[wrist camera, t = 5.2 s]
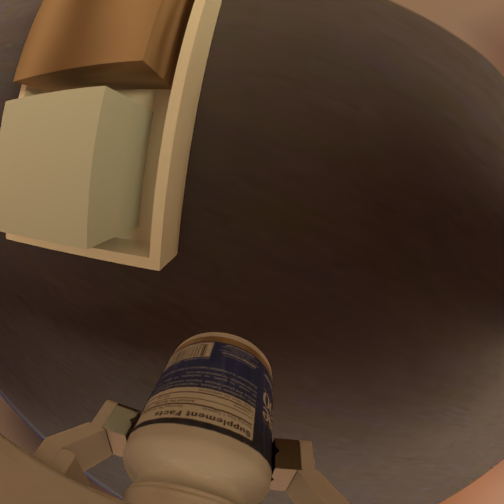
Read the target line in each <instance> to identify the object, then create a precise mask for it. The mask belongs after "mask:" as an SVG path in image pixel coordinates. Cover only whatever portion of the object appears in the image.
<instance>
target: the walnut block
mask: <svg viewBox="0 0 504 504" xmlns="http://www.w3.org/2000/svg"><path fill="white" fill-rule="evenodd" d="M194 1H195V0H43V2H42V4H41V6H40V8H39V11H38V13H37V15H36V17H35V20H34V22H33V24H32V27H31V29H30V32H29V35H28V37H27V40H26V43H25V45H24V48H23V51H22V54H21V57H20V60H19V63H18V67H17V70H16V73H15V77H14V81H13V82H16V83H20V84H23V85H27V86H30V87H34V88H37V89H40V90H43V91H47V92H55V91H62V90H69V89H77V88H86V87H96V86H107V87H109V88H111V89H113V90H132V89H172V84H173V80H174V75H175V71H176V66H177V62H178V58H179V54H180V50H181V46H182V42H183V39H184V35H185V31H186V28H187V24H188V21H189V17H190V14H191V11H192V8H193V4H194Z"/></svg>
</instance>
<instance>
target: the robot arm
mask: <svg viewBox="0 0 504 504" xmlns="http://www.w3.org/2000/svg"><path fill="white" fill-rule="evenodd" d="M141 413H142V412H141V411H139V410H136V409H133V408H131V407H128V406H125V405H122V404H120V403H117V402H114V401H112V400H107V401H106V402H105V403H104V405H103V406H102V407H101V409H100V410H99V412H98V413H97V415H96V416H95V418H94V419H93V421H92V422H91V423H89V422H87V423H84V424H82V425H79V426H76V427H74V428H71V429H68V430H66V431H63V432H60V433H57V434H55V435H52V436H49V437H46V438H45V440H44V441H43V442H42V444H41V445H40V446H39V448H38V449H37V450H36V452H35V453H34V454H33V456H32V455H31V454H29V453H27V452H26V451H25V450H23V449H22V448H20V447H19V446H17V445H16V444H14V443H13V442H11V441H10V440H9V439H7V438H6V437H5V436H3V435H2V434H1V433H0V504H131V503H128V502H126V501H123V500H120V499H118V498H115V497H112V496H110V495H108V494H105V493H103V492H100V491H98V490H96V489H94V488H91V487H89V486H88V485H89V482H88V480H87V478H86V476H85V474H84V471H85V470H87V469H89V468H91V467H92V466H94V465H96V464H98V463H99V462H101V461H103V460H105V459H106V458H108V457H110V456H111V455H113V454H115V455H117V456H120V457H123V452H124V448H125V445H126V443H127V440H128V438H129V436H130V433H131V432H132V430H133V428H134V426H135V424H136V422H137V420H138V419H139V417H140V415H141ZM270 489H271V490H282V491H286V493H287V494H288V496H289V497H290V498H291V500H292V501H293V503H294V504H350V503H349V502H348V501H347V500H346V499H345V498H344V497H343V496H342V495H341V494H340V493H339V492H338V491H337V490H336V489H335V488H334V487H333V486H332V484H331V483H330V482H329V481H328V480H327V479H326V478H325V477H324V476H323V475H322V474H321V473H320V472H319V471H315V464H314V455H313V446H312V442H311V441H305V440H292V439H279V438H274V440H273V443H272V475H271V485H270Z"/></svg>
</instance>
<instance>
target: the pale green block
mask: <svg viewBox="0 0 504 504" xmlns="http://www.w3.org/2000/svg"><path fill="white" fill-rule="evenodd" d="M153 113H154V112H152V111H151V110H149V109H147V108H145V107H144V106H142V105H140V104H138V103H137V102H135V101H133V100H131V99H129V98H128V97H126V96H124V95H122V94H120V93H118V92H117V91H115V90H113V89H111V88H109V87H107V86H96V87H86V88H77V89H69V90H62V91H55V92H49V93H43V94H38V95H32V96H27V97H23V98H18V99H14V100H9V101H6V103H5V107H4V112H3V117H2V123H1V129H0V231H1V232H5V233H10V234H14V235H19V236H23V237H28V238H33V239H37V240H42V241H47V242H52V243H57V244H62V245H67V246H72V247H77V248H82V249H89V248H91V247H93V246H96V245H98V244H100V243H102V242H104V241H107V240H109V239H111V238H113V237H116V236H118V235H120V234H122V233H125V232H127V231H129V230H132V229H134V228H136V227H139V217H140V206H141V196H142V186H143V178H144V170H145V162H146V155H147V148H148V142H149V136H150V130H151V124H152V118H153Z"/></svg>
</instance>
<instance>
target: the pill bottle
mask: <svg viewBox="0 0 504 504" xmlns="http://www.w3.org/2000/svg"><path fill="white" fill-rule="evenodd" d="M272 397H273V381H272V372H271V367H270V364H269V362H268V360H267V358H266V357H265V355H264V354H263V353H262V352H261V351H260V350H259V349H258V348H257V347H256V346H255V345H253V344H252V343H250V342H249V341H247V340H245V339H243V338H241V337H238V336H236V335H232V334H228V333H220V332H207V333H201V334H198V335H195V336H193V337H190V338H189V339H187V340H185V341H184V342H183V343H181V344H180V345H179V346H178V348H177V349H176V350H175V352H174V353H173V355H172V356H171V358H170V360H169V361H168V364H167V366H166V367H165V369H164V371H163V373H162V375H161V377H160V379H159V381H158V383H157V385H156V386H155V388H154V390H153V392H152V394H151V396H150V398H149V399H148V401H147V404H146V405H145V407H144V409H143V411H142V413H141V415H140V417H139V419H138V420H137V422H136V424H135V426H134V428H133V430H132V432H131V433H130V436H129V438H128V440H127V443H126V445H125V448H124V452H123V463H124V467H125V469H126V472H127V474H128V475H129V477H130V478H131V480H132V481H133V482H134V483H133V484H132V485H130V486H129V488H128V489H127V490H125V492H124V494H123V499H122V500H123V501H126V502H128V503H131V504H259V503H260V502H261V501H262V500H263V499H264V498H265V497H266V495H267V493H268V491H269V489H270V485H271V475H272V419H273V401H272Z"/></svg>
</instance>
